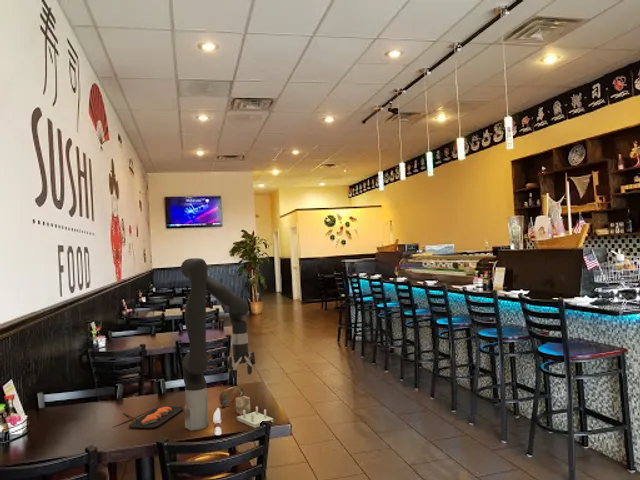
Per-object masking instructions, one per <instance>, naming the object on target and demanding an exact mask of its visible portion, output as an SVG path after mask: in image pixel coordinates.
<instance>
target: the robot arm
mask: <svg viewBox="0 0 640 480" xmlns="http://www.w3.org/2000/svg"><path fill="white" fill-rule="evenodd" d="M180 271H181V273H182V275H183V276H184V277H185V278H187V279H189V281H190V292H189V296H188V299H187V301H186V304H185V308H184V322H185V323H184V324H185V330H186V332H187V337H188V343H189V351H188V352H187V353H186V354H184V357H183V358H182V374H183V382H184V383H183V384H184V387H185V389H184V390H185V406H184V407H183V409H184V428H185V429H187V430H188V431H199V430H203V429H205V428H207V427H208V426H209V417H208V415H209V414H208V412H209V411H208V394H207V393H208V389H207V379H206V378H205V375H204V373H205V371H206V370H207V368H208V364H209V361H208V360H209V359H208V352H207V351H208V350H207V340H206V339H207V307H206V306H207V304H206V303H207V294H206V293H207V292H208V293H209V294H210V295H212V297H214V298H215V299H216V300H217V301H218V302H219V303H221V304H222V305H223V306H226V307H228V308H227V309H228V315H229V318H230V319H229V320H230V323H231V327H232V328H231V329H232V331H231V332H232V333H231V334H232V336H231V339H232V340H231V341H232V354H233V355H232V356H229V355H228V356H226V360H227V361H226V369H227V370H230V372H231V373H230V374H231V377H232V378H234V379H236V378H237V372H236V371H237V370H236V369H237V367H238V366H239V365H241V364H246V365H247V366H246V368H247V374H248V375H252V373H253V369H252V367H253V366H254V365H255V364H256V357H255V356H256V355H255V352H253V351H250V352H249V336H248V325H247V321H246V320H244V318H243V316H246V315H247V314H248V313H249V311H250V307H249V304H248V302H246V301H245V300H244V299H243V298H241V297H239V296H238V295H236V294H234V293H233V292H232V291H231V290H230V289H229V288H228V287H226V286H225V285H224V284H222V282H219V281H218V280H216V279H214V278H213V277H211V276H210V275H208V265H207V262H206V261H205V260H204V258H200V257H196V258H193V257H192V258H187V259H185V260H184V261H183V262H182V263H181V266H180Z"/></svg>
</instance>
